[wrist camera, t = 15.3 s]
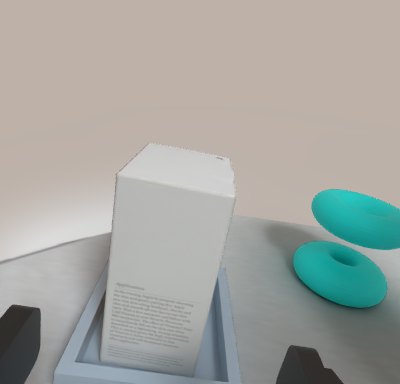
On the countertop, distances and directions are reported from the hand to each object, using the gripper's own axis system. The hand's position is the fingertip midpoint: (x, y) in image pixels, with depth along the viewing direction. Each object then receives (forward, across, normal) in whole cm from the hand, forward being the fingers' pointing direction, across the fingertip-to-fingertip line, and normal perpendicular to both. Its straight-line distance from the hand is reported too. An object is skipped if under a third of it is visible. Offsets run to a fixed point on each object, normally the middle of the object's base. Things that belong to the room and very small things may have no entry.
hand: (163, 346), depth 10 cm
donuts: (+22, -19, +11) cm, 31 cm away
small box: (+11, 0, +10) cm, 15 cm away
